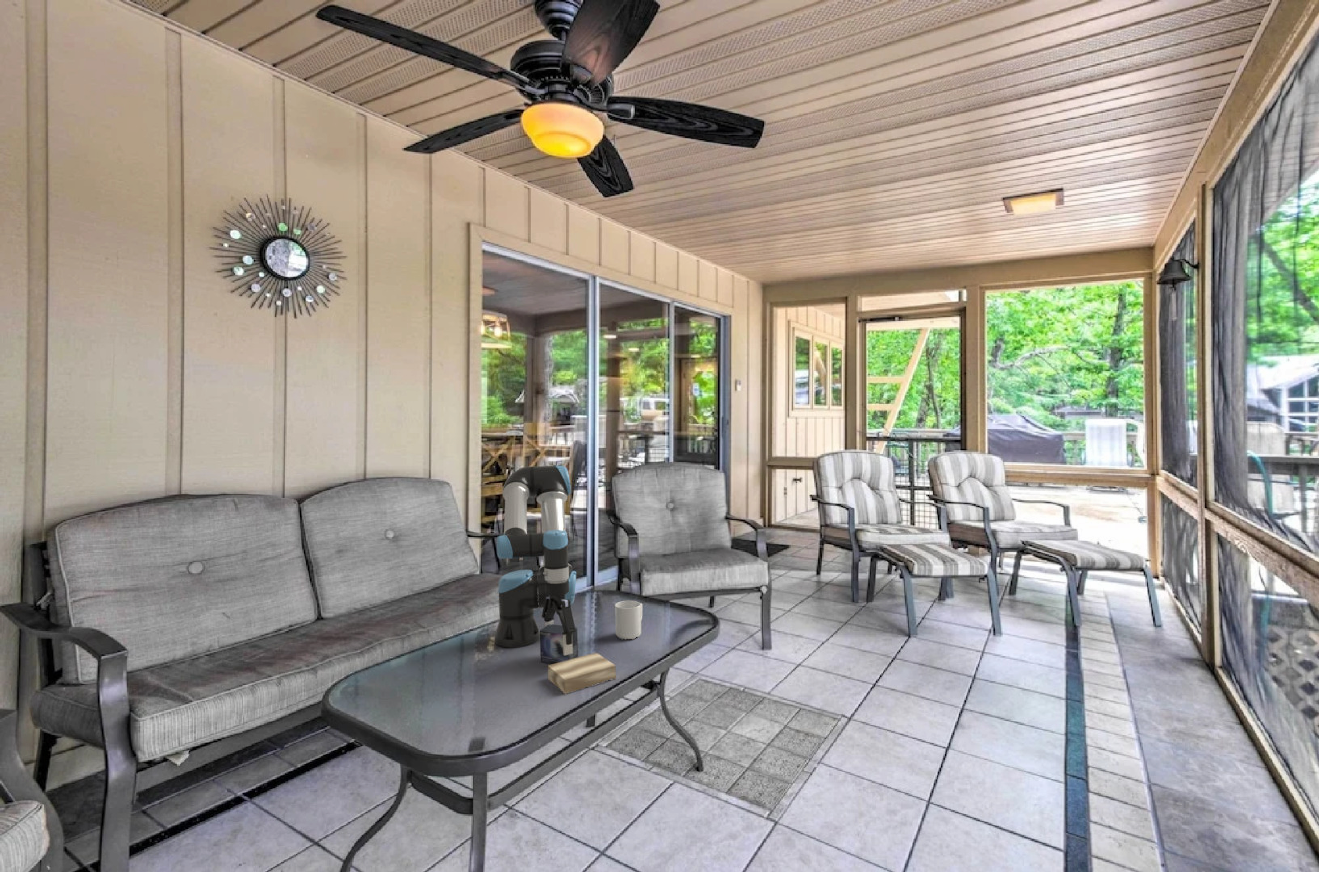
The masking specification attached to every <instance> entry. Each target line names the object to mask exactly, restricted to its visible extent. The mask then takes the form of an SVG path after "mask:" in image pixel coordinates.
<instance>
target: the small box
mask: <svg viewBox="0 0 1319 872" xmlns="http://www.w3.org/2000/svg"><path fill="white" fill-rule="evenodd" d="M575 629H576V632H574V633H572V646H573V654H569V655H565V656H564V653H563V635H562V633H563V632H564V630H563V627H562V624H560V625H559V624H555V623H554V624H549V625H547V626H546V627H545V626H544V627H543V628H542V629H539V631H540V638H539V647H540V648H539V650H540V651H539V652H540V656H539V657H540V663H544V664H548V665H552V664H556V663H559V662H563V661H567V660H570V659H574V658H578V657H579V647H578V645H579V644H578V643H579V642H578V641H579V640H578V627H577V626H575Z"/></svg>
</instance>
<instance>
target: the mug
mask: <svg viewBox="0 0 1319 872" xmlns="http://www.w3.org/2000/svg"><path fill="white" fill-rule="evenodd" d="M614 614H615V615H614V618H615V619H614V620H615V636H616V637H618V639H620V638H621V639H620V640H623V639H625V640H624V641H627V640H626V639H632V640H636V639H637V638H636V637H638V638H639V637H640V635H642V620H643V603H641V602H639V601H636V600H623V601H619V602H616V603H615V604H614ZM635 638H636V639H635Z"/></svg>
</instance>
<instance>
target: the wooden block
mask: <svg viewBox="0 0 1319 872" xmlns="http://www.w3.org/2000/svg"><path fill="white" fill-rule="evenodd" d="M616 667H617V666H616V665H615V664H614V663H613V662H611V661H609V660H608V659H607V658H605V657H603V656H602V655H600V653H598V652H592V653H590V654H586V655H581V656H578V658H574V659H570V660H567V661H563V662H559V663H556V664H548V665H547V676H548V677H547V678H548V679H547V680H548V681H550V682H551V683H552V685H555V687H557V688H558V689H559V690H560V691H561V692H562V691H563V694H564V695H567V694H566V693H568V694H570V693H569V692H571V693H573V692H572V691H574V692H577V690H578V691H581V690H584V689H586V688H585V687H588V688H591V687H593V686H592V685H594V686H596V685H595V684H597V683H601V684H603V683H602V682H604V681H607V680H610V679H614V680H616V679H617V673H616V672H617V671H616V670H617V669H616ZM615 678H616V679H615ZM604 683H605V682H604ZM590 686H591V687H590ZM583 688H584V689H583ZM580 689H581V690H580Z"/></svg>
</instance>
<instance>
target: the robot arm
mask: <svg viewBox="0 0 1319 872" xmlns="http://www.w3.org/2000/svg"><path fill="white" fill-rule="evenodd" d="M569 474H570V473H569V471H568V468H567V467H566V466H564V465H556V464H554V465H543V466H541V465H540V466H538V465H537V466H524V467H521V468H519V469H517V470H515V471H514V472H513V473H511V474H510V475H509V476H508V478H507V479H506V480H505V483H504V485H503V488H502V497H503V499H504V500H505V501H504V503H505V504H504V523H503V524H504V525H503V534H502V535H499V536H498V535H497V538H496V555H497V558H499V559H501V560H503V559H504V560H507V559H510V560H512V559H522V558H537V557H542V565H541V566H540V567H538V568H539V569H538V573H536V574H535V573H534V572H533V570H531V569H519V570H513V571H511V572H508V573H506V574H504V575H502V576H501V577H500V578H499V579H498V589H497V593H498V612H499V615H498V616H499V619H498V620H499V621H498V622H497V623H498V624H497V628H496V631H495V633H494V634H495V635H494V643H495V644H496V645H497V646H498V645H499V647H501V646H502V647H501V648H521V647H526V646H529V645H532V644H534V643H536V642H537V641H540V628H539V626H538V623H537V620H536V618H535V609H542V611H541V618H542V619H543V620H544V622H545V623H544V624H545V626H544V627H546V626H547V625H549V624H554V625H555V614H556V615H558V616H559V618H558V619H559V621H560V623H561V624H560V625H561V626H562V627H563V630H564V632H563V633H562V635H563V653H564V656H565V655H569V654H573V646H572V633H574V632H576V629H575V627H576V625H575V621H574V617H573V612H572V607H571V605H573V603H574V602H575V595H576V583H577V571H575V570H573V567H572V565H571V564H570V563H569V548H568V547H569V545H568V544H569V539H568V533H567V531H566V519H565V516H566V515H565V502H567V500H568V496H570V495H571V493H572V487H571V480H570V475H569ZM529 498H536V502H537V503H538V504H540V514H541V515H540V518H541V532H537V533H528V525H527V524H528V519H527V518H528V515H527V513H528V512H527V510H528V505H527V503H528V499H529Z"/></svg>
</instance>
